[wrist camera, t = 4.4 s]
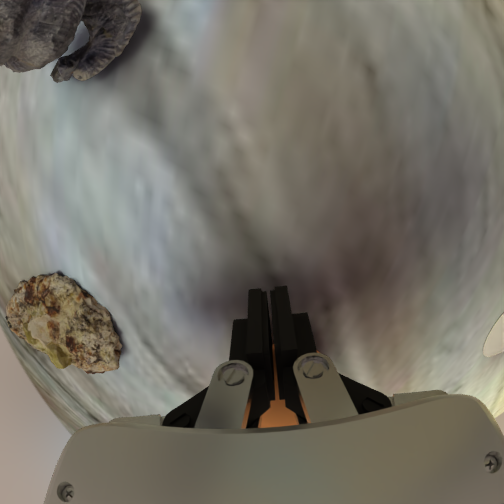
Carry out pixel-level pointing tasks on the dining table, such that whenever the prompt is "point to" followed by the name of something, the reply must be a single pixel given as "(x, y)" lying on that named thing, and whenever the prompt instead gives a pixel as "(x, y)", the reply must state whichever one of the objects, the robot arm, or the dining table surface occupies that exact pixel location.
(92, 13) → the seashell
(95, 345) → the mineral rock
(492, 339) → the champagne flute
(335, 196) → the dining table surface
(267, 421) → the ball
